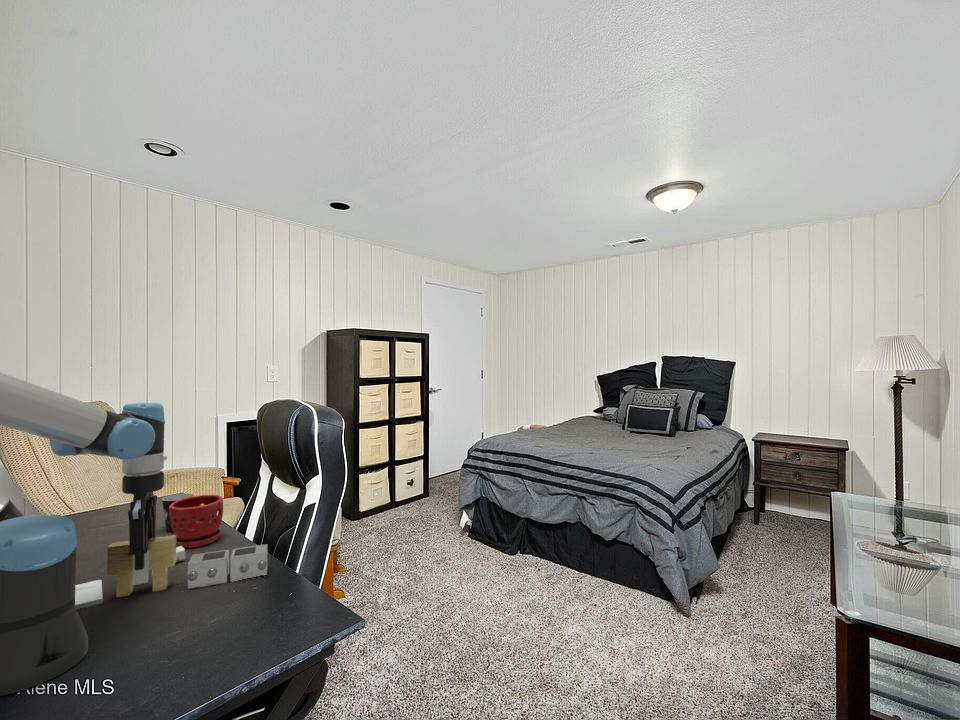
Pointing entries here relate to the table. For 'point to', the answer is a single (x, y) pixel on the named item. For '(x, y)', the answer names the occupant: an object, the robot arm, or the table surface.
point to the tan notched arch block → (159, 561)
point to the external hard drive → (88, 594)
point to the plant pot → (196, 520)
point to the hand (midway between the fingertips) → (142, 579)
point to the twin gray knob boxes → (226, 566)
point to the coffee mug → (167, 502)
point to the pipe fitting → (180, 554)
